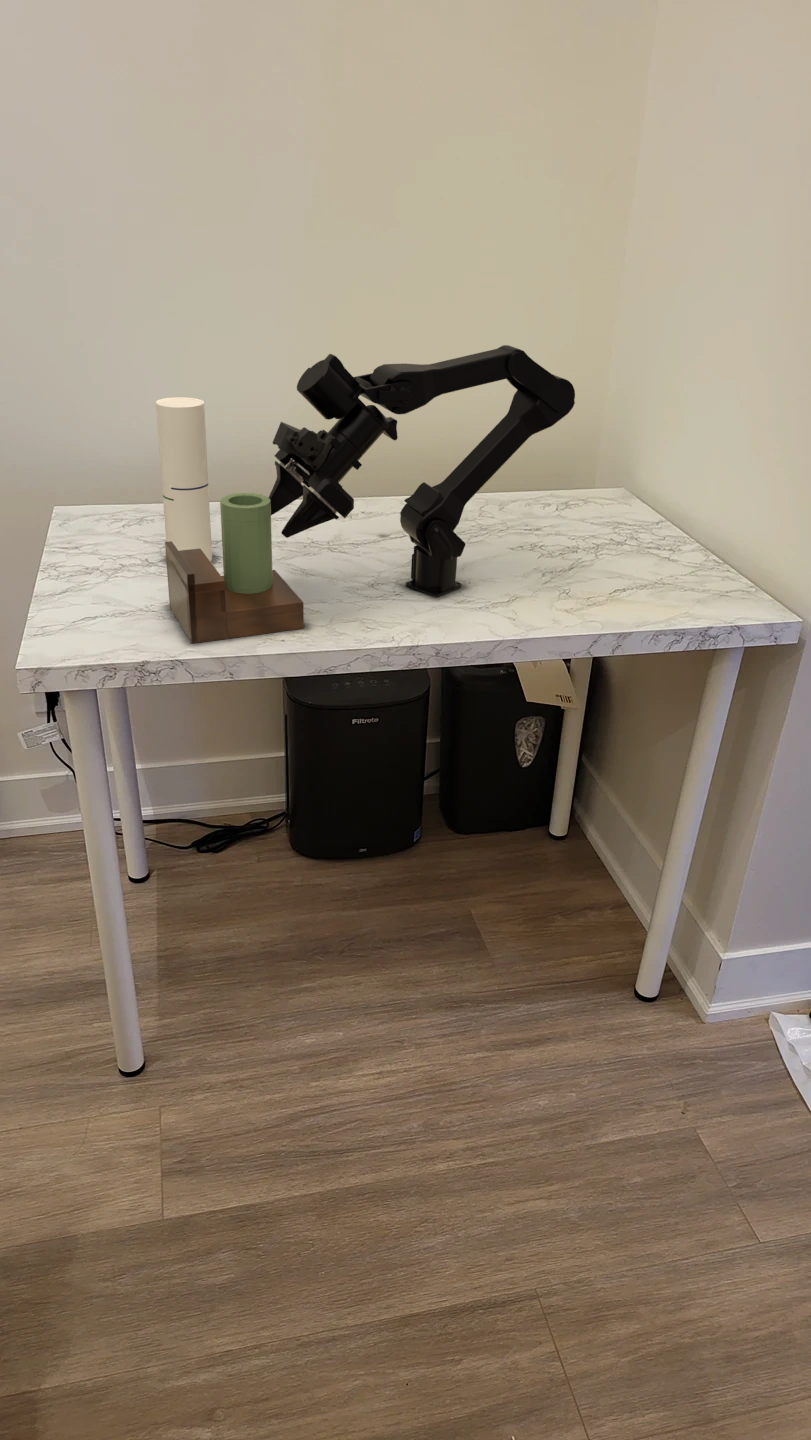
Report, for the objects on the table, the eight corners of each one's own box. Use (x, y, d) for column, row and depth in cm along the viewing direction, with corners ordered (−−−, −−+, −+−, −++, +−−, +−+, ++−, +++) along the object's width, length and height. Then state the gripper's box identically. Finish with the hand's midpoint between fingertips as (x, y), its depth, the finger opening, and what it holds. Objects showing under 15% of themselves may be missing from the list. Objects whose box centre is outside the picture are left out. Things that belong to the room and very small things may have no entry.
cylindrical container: (202, 569, 164) (193, 409, 152) (160, 564, 165) (147, 405, 153) (218, 554, 170) (211, 399, 158) (177, 549, 171) (167, 395, 159)
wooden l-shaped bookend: (275, 594, 156) (273, 530, 151) (303, 628, 146) (303, 561, 141) (169, 607, 150) (164, 541, 146) (191, 643, 140) (186, 574, 135)
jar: (280, 581, 150) (278, 497, 144) (258, 597, 145) (255, 510, 139) (239, 573, 152) (235, 490, 146) (215, 588, 147) (211, 503, 141)
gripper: (287, 388, 147) (215, 470, 148) (332, 417, 132) (252, 509, 134) (338, 440, 154) (269, 518, 155) (387, 473, 139) (310, 560, 140)
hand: (273, 525), depth 146 cm, fingers open, 9 cm apart
